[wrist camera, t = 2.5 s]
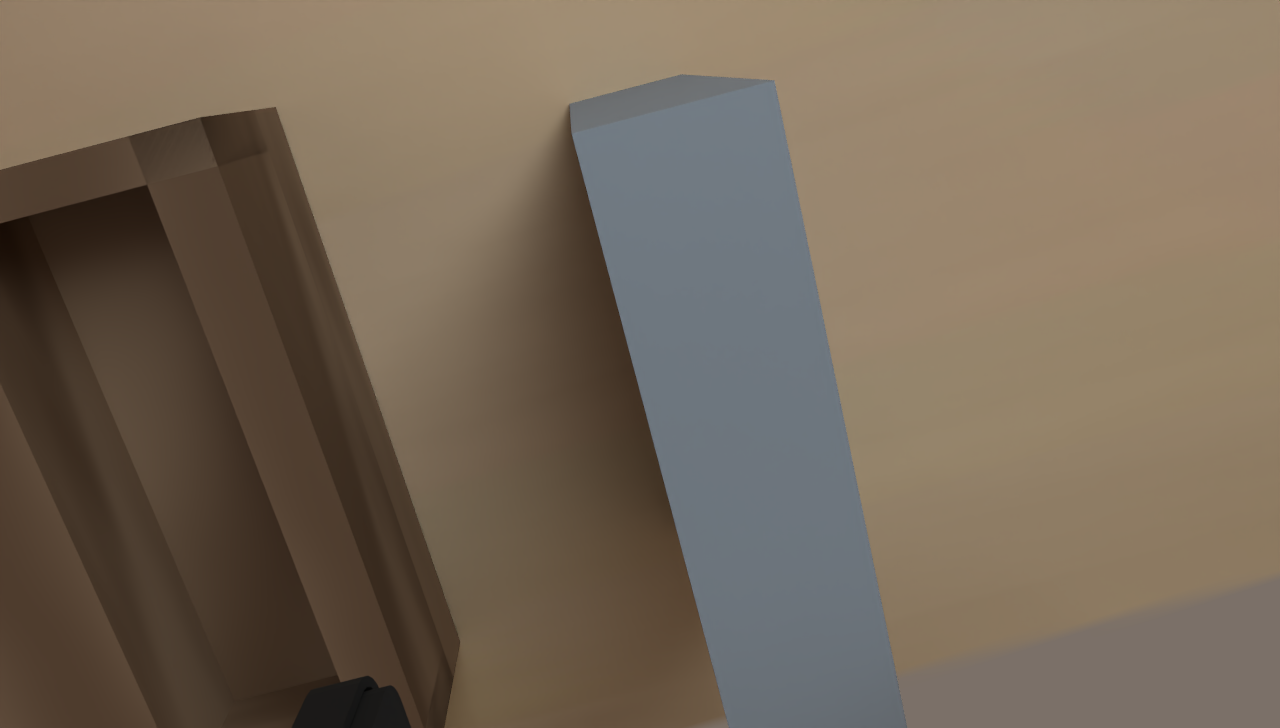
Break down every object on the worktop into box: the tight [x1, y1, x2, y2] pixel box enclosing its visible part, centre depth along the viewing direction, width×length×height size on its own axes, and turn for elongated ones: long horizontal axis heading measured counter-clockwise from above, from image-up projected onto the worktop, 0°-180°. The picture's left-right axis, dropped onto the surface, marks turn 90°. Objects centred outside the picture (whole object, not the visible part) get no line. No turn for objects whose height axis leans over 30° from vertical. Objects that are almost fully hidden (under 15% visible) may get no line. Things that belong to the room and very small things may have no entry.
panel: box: [570, 75, 907, 728], centre depth 18 cm, size 2×10×10 cm, turn 14°
